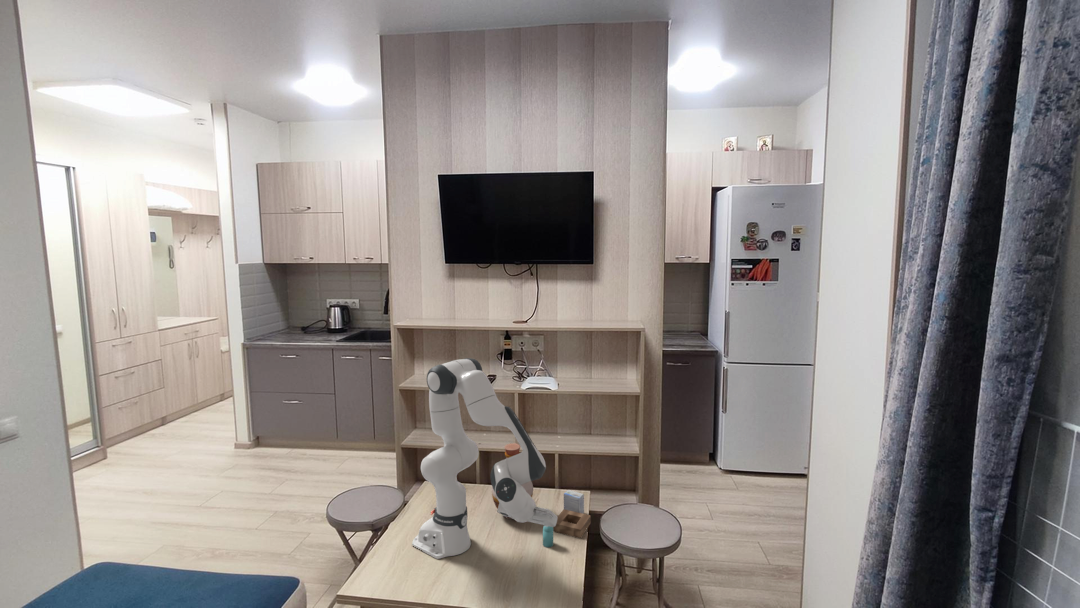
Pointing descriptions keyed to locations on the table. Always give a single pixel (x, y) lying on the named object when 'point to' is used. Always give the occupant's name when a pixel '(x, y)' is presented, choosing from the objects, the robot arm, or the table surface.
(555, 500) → the table surface
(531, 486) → the jug
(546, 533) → the peg
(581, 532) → the socket block
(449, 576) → the table surface
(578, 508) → the medicine box
